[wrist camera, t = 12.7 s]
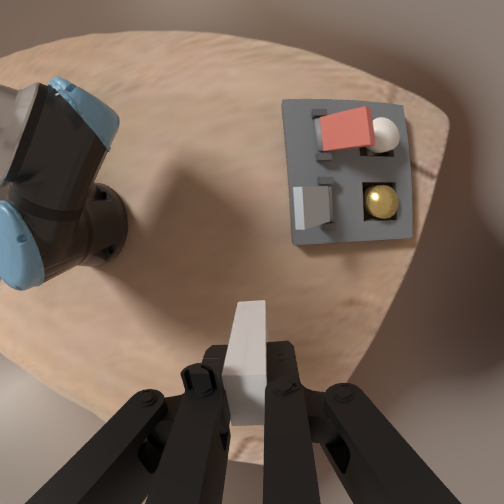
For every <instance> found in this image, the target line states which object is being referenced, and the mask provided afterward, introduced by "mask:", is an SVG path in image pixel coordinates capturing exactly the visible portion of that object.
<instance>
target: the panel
mask: <svg viewBox="0 0 504 504" xmlns="http://www.w3.org/2000/svg"><path fill="white" fill-rule="evenodd" d="M281 106H282V116H283V126H284V136H285V147H286V159H287V171H288V185H289V199H290V214H291V232H292V243H293V245H308V244H324V243H339V242H355V241H371V240H387V239H403V238H412V182H411V166H410V155H409V145H408V136H407V129H406V122H405V115H404V109H403V105H395V104H387V103H378V102H367V101H353V100H332V99H287V100H282V105H281ZM363 106H367V107H369V108H371V113H372V120H374V119H376V118H379V117H384V118H387V119H389V120H391V121H392V122H393V123H394V124H395V125H396V127H397V128H398V131H399V136H400V139H399V143H398V145H397V146H396V147H395V148H394V149H392V150H389V151H386V157H380V156H360V150H359V147H358V148H350V149H343V150H336V151H326V152H318V151H317V140H316V131H315V122H314V119H317V118H320V117H323V116H327V115H331V114H334V113H338V112H342V111H346V110H350V109H355V108H359V107H363ZM362 182H388V186H389V187H391V188H392V189H393V190H394V191H395V192H396V194H397V196H398V208H397V211H396V212H395V214H394V215H393V216H391V217H390V218H386V219H382V218H380V219H364V216H363V190H362ZM309 186H328V187H331V189H332V207H333V220H331V221H330V222H327V223H324V224H321V225H317V226H314V227H311V228H308V229H305V230H296V227H295V210H294V194H293V187H309Z"/></svg>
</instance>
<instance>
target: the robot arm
mask: <svg viewBox="0 0 504 504" xmlns="http://www.w3.org/2000/svg"><path fill="white" fill-rule="evenodd" d="M119 125H120V120H119V117H118V115H117V113H116V112H115V111H114V110H113V109H111V108H110V107H109V106H107V105H106V104H105V103H103V102H102V101H100V100H99V99H97V98H96V97H94V96H93V95H91V94H90V93H88V92H87V91H85V90H83V89H81V88H80V87H77V86H76V85H74V84H72V83H70V82H69V81H67V80H65V79H63V78H61V77H57V76H56V77H54V78H53V79H52V80H50V81H49V83H48V86H46V85H44V84H41V83H38V82H35V83H33V84H31V85H29V86H27V87H25V88H23V89H20V90H17V89H13V88H10V87H7V86H4V85H1V84H0V180H4V181H9V182H10V185H9V190H8V193H7V197H6V200H1V201H0V277H1V278H2V280H3V281H4V282H5V283H6V284H7V285H8V286H10V287H11V288H13V289H15V290H20V291H21V290H27V289H29V288H32V287H34V286H40V285H41V284H42V283H44V282H46V281H48V280H50V279H52V278H53V277H55V276H57V275H59V274H61V273H63V272H65V271H67V270H69V269H71V268H73V267H75V266H77V265H79V266H100V265H103V264H105V263H107V262H109V261H111V260H112V259H114V258H115V257H116V256H117V255H118V254H119V252H120V251H121V249H122V247H123V245H124V243H125V240H126V236H127V227H128V224H127V215H126V211H125V208H124V205H123V203H122V201H121V199H120V198H119V196H118V195H117V194H116V192H115V191H114V190H112V189H111V188H110V187H108V186H106V185H104V184H101V183H94V181H95V179H96V177H97V174H98V172H99V170H100V168H101V165H102V163H103V161H104V159H105V157H106V155H107V153H108V152H109V151H110V149H111V147H110V146H111V143H112V141H113V139H114V137H115V135H116V133H117V130H118V128H119ZM181 377H182V381H183V384H184V388H185V393H184V394H182V395H178V396H173V397H166V398H164V395H163V394H162V393H161V392H160V391H158V390H154V389H146V390H142V391H139V392H137V393H136V394H134V395H133V396H132V397H131V398H130V399H129V400H128V401H127V402H126V403H125V404H124V405H123V406H122V407H121V408H120V409H119V410H118V412H117V413H116V414H115V415H114V416H113V417H112V418H111V419H110V420H109V421H108V422H107V423H106V424H105V425H104V426H103V427H102V428H101V429H100V430H99V431H98V432H97V433H96V434H95V435H94V436H93V437H92V438H91V439H90V440H89V441H88V442H87V443H86V444H85V445H84V446H83V447H82V448H81V449H80V450H79V451H78V452H77V453H76V454H75V455H74V456H73V457H72V458H71V459H70V460H69V461H68V462H67V463H66V464H65V465H64V466H63V467H62V468H61V469H60V470H59V471H58V472H57V473H56V474H55V475H54V476H53V477H52V478H51V479H50V480H49V481H48V482H47V483H46V484H44V485H43V487H41V488H40V489H39V490H38V491H37V492H36V493H35V494H34V495H33V496H32V497H31V498H30V499H29V500H28V501H27V502H26V503H25V504H142V502H143V501H144V500H145V498H146V497H147V495H148V497H147V500H146V503H145V504H222V497H223V490H224V482H225V475H226V467H227V460H228V452H229V445H230V437H231V434H230V429H229V424H230V420H231V424H232V426H242V425H264V478H263V504H321V503H320V496H319V489H318V481H317V474H316V467H315V460H314V454H313V447H312V442H314V443H320V445H321V447H322V449H323V451H324V453H325V454H326V456H327V458H328V460H329V461H330V463H331V465H332V467H333V469H334V471H335V472H336V474H337V476H338V478H339V479H340V481H341V483H342V485H343V486H344V488H345V490H346V492H347V493H348V495H349V497H350V498H351V500H352V502H353V504H461V503H460V502H459V500H458V499H457V498H456V497H455V496H454V495H453V494H452V493H451V492H450V490H449V489H448V488H447V487H446V486H445V485H444V484H443V482H442V481H441V480H440V479H439V478H438V477H437V476H436V475H435V473H434V472H433V471H432V470H431V469H430V468H429V467H428V466H427V465H426V463H425V462H424V461H423V460H422V459H421V458H420V456H419V455H418V454H417V453H416V452H415V451H414V450H413V449H412V447H411V446H410V445H409V444H408V443H407V442H406V440H405V439H404V438H403V437H402V436H401V435H400V434H399V432H398V431H397V430H396V429H395V428H394V427H393V426H392V424H391V423H390V422H389V421H388V420H387V419H386V418H385V416H384V415H383V414H382V413H381V412H380V411H379V410H378V409H377V407H376V406H375V405H374V404H373V403H372V401H371V400H370V399H369V398H368V397H367V396H366V395H365V393H364V392H363V391H362V390H361V389H360V388H359V387H357V386H356V385H353V384H350V383H339V384H335V385H333V386H331V387H329V388H328V389H327V390H326V392H317V391H312V390H309V389H307V388H306V387H304V386H303V385H302V384H301V382H300V379H299V373H298V368H297V362H296V356H295V350H294V346H293V345H292V344H291V343H290V342H289V341H278V342H268V332H267V318H266V305H265V300H259V301H243V302H238V304H237V308H236V313H235V317H234V322H233V326H232V331H231V335H230V340H229V344H228V345H212V346H211V347H209V348H208V349H207V350H206V352H205V354H204V357H203V360H202V363H196V364H192V365H189V366H187V367H186V368H184V369H183V370H182V372H181Z"/></svg>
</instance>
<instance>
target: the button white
mask: <svg viewBox="0 0 504 504" xmlns="http://www.w3.org/2000/svg"><path fill="white" fill-rule="evenodd" d="M373 128H374V136H375V146H367V147H366V148H367V149H368V150H369V151H371V152H373V153H382V152H386V151H389V150H392V149H394V148H395V147H396V146H397V145H398V143H399V139H400V136H399V131H398V128H397V127H396V125H395V124H394V123H393V122H392V121H391V120H389V119H387V118H384V117H379V118H376V119H374V120H373Z"/></svg>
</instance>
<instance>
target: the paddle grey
mask: <svg viewBox="0 0 504 504" xmlns="http://www.w3.org/2000/svg"><path fill="white" fill-rule="evenodd" d="M293 194H294V210H295V227H296V230H305V229H308V228H311V227H314V226H317V225H321V224H324V223H327V222H330V221H331V220H333V207H332V189H331V187H328V186H309V187H293Z"/></svg>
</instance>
